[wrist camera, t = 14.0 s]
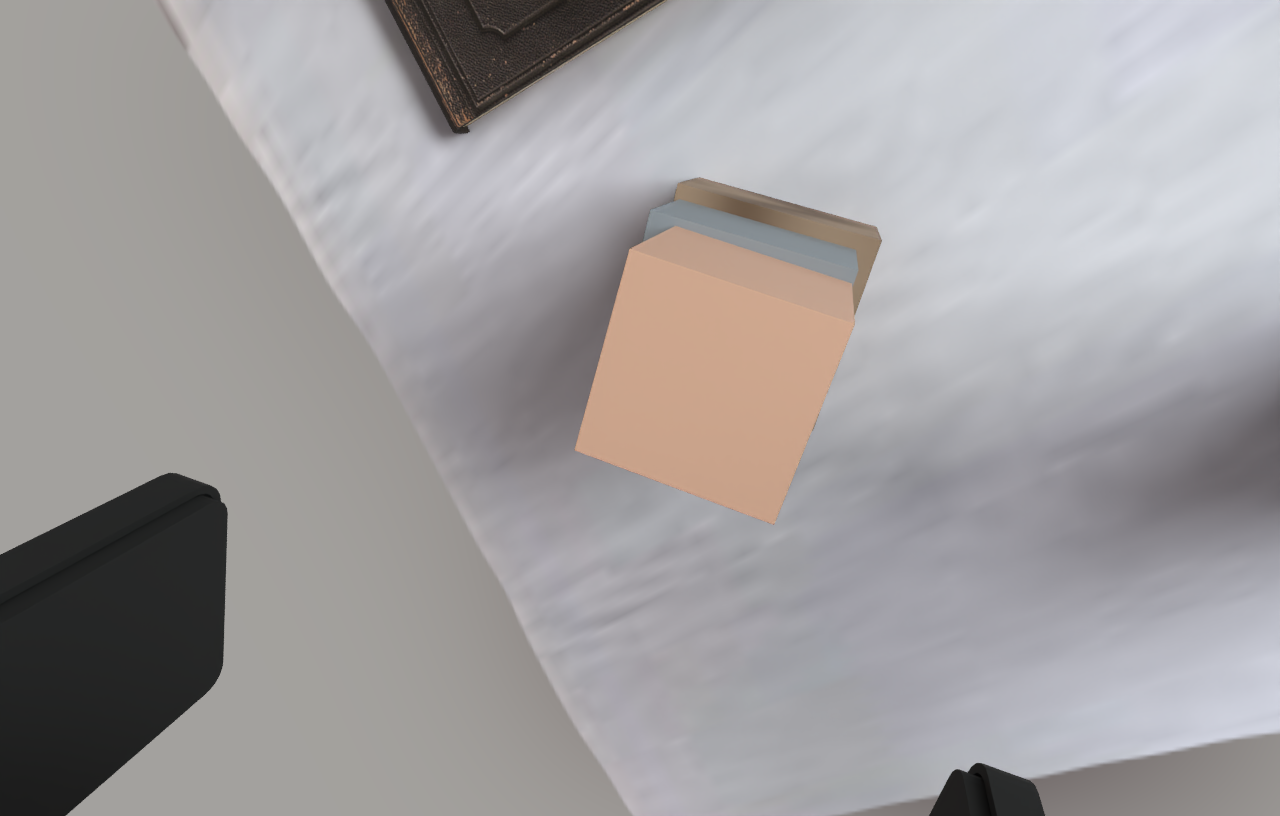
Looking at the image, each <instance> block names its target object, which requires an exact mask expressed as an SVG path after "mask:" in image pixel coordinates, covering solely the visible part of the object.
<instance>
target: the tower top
mask: <svg viewBox="0 0 1280 816" xmlns="http://www.w3.org/2000/svg"><path fill="white" fill-rule="evenodd" d="M674 226H678V227H681V228H684V229H687V230H690V231H693V232H696V233H699V234H702V235H705V236H708V237H711V238H714V239H717V240H720V241H723V242H727V243H730V244H733V245H736V246H739V247H742V248H745V249H748V250H751V251H754V252H757V253H760V254H763V255H766V256H769V257H772V258H775V259H779V260H782V261H785V262H788V263H791V264H794V265H797V266H800V267H803V268H806V269H809V270H812V271H815V272H818V273H821V274H824V275H827V276H830V277H834V278H837V279H840V280H843V281H846V282H849V283H852V287H853V284H854V282H855V279H856V276H857V273H858V262H857V254H856V250H855V249H851V248H848V247H845V246H841V245H838V244H834V243H831V242H827V241H824V240H820V239H817V238H813V237H810V236H806V235H803V234H799V233H796V232H792V231H789V230H785V229H782V228H778V227H775V226H771V225H768V224H764V223H761V222H757V221H754V220H751V219H747V218H744V217H740V216H737V215H733V214H730V213H726V212H723V211H719V210H716V209H712V208H709V207H705V206H702V205H698V204H695V203H691V202H688V201H684V200H681V199H679V200H676V201H673V202H671V203H668V204H665V205H662V206H660V207H657V208H654V209H651V210H650V214H649V218H648V222H647V226H646V230H645V234H644V238H643V242H644V241H646V240H648V239H650V238H652V237H654V236H656V235H658V234H660V233H662V232H664V231H666V230H668V229H670V228H672V227H674Z"/></svg>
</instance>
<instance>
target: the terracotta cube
mask: <svg viewBox="0 0 1280 816" xmlns="http://www.w3.org/2000/svg"><path fill="white" fill-rule="evenodd" d="M854 325H855V319H854V305H853V292H852V283H849V282H846V281H843V280H840V279H837V278H834V277H830V276H827V275H824V274H821V273H818V272H815V271H812V270H809V269H806V268H803V267H800V266H797V265H794V264H791V263H788V262H785V261H782V260H779V259H775V258H772V257H769V256H766V255H763V254H760V253H757V252H754V251H751V250H748V249H745V248H742V247H739V246H736V245H733V244H730V243H727V242H723V241H720V240H717V239H714V238H711V237H708V236H705V235H702V234H699V233H696V232H693V231H690V230H687V229H684V228H681V227H678V226H674V227H672V228H670V229H668V230H666V231H664V232H662V233H660V234H658V235H656V236H654V237H652V238H650V239H648V240H646V241H644V242H642V243H640V244H638V245H636V246H634V247H632V248H630V249H629V253H628V257H627V260H626V264H625V268H624V271H623V275H622V279H621V282H620V286H619V289H618V293H617V297H616V300H615V304H614V308H613V311H612V315H611V319H610V322H609V326H608V330H607V333H606V337H605V340H604V344H603V348H602V351H601V355H600V359H599V362H598V366H597V370H596V373H595V377H594V381H593V384H592V388H591V392H590V395H589V399H588V402H587V406H586V410H585V413H584V417H583V421H582V424H581V428H580V432H579V435H578V439H577V443H576V446H575V451H578V452H580V453H583V454H586V455H588V456H591V457H594V458H596V459H599V460H602V461H604V462H607V463H610V464H612V465H615V466H618V467H620V468H623V469H626V470H628V471H631V472H634V473H637V474H639V475H642V476H645V477H647V478H650V479H653V480H655V481H658V482H661V483H663V484H666V485H669V486H671V487H674V488H677V489H679V490H682V491H685V492H687V493H690V494H693V495H695V496H698V497H701V498H703V499H706V500H709V501H712V502H714V503H717V504H720V505H722V506H725V507H728V508H730V509H733V510H736V511H738V512H741V513H744V514H746V515H749V516H752V517H754V518H757V519H760V520H762V521H765V522H768V523H770V524H773V525H774V524H775V521H776V519H777V516H778V514H779V511H780V509H781V506H782V504H783V501H784V499H785V496H786V494H787V491H788V489H789V486H790V484H791V481H792V479H793V476H794V474H795V471H796V469H797V466H798V464H799V461H800V459H801V456H802V454H803V451H804V449H805V447H806V444H807V442H808V439H809V437H810V434H811V432H812V429H813V427H814V424H815V422H816V419H817V417H818V414H819V412H820V409H821V407H822V404H823V402H824V399H825V397H826V394H827V392H828V389H829V387H830V384H831V382H832V379H833V377H834V374H835V372H836V370H837V367H838V365H839V362H840V360H841V357H842V355H843V352H844V350H845V347H846V345H847V342H848V340H849V337H850V335H851V332H852V330H853V327H854Z"/></svg>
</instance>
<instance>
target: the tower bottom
mask: <svg viewBox="0 0 1280 816" xmlns="http://www.w3.org/2000/svg"><path fill="white" fill-rule="evenodd" d="M679 199H681V200H684V201H688V202H691V203H695V204H698V205H702V206H705V207H709V208H712V209H716V210H719V211H723V212H726V213H730V214H733V215H737V216H740V217H744V218H747V219H751V220H754V221H757V222H761V223H764V224H768V225H771V226H775V227H778V228H782V229H785V230H789V231H792V232H796V233H799V234H803V235H806V236H810V237H813V238H817V239H820V240H824V241H827V242H831V243H834V244H838V245H841V246H845V247H848V248H851V249H855V250H856V254H857V262H858V273H857V276H856V279H855V282H854V284H853V287H852V292H853V305H854V316H855V313H856V310H857V308H858V305H859V302H860V299H861V297H862V294H863V291H864V288H865V286H866V283H867V280H868V277H869V274H870V272H871V269H872V266H873V263H874V261H875V258H876V255H877V252H878V250H879V247H880V244H881V241H882V240H881V237H880V235H879V232H878V229H877V227H875V226H871V225H868V224H864V223H861V222H857V221H853V220H850V219H846V218H843V217H839V216H836V215H832V214H828V213H825V212H821V211H818V210H814V209H811V208H807V207H803V206H800V205H796V204H793V203H789V202H786V201H782V200H778V199H775V198H771V197H768V196H764V195H761V194H757V193H753V192H750V191H746V190H743V189H739V188H736V187H732V186H728V185H725V184H721V183H718V182H714V181H711V180H707V179H703V178H700V177H699V178H695V179H692V180H688V181H684V182H680V183H678V185H677V189H676V193H675V197H674V201H676V200H679ZM818 415H819V414H818ZM817 418H818V417H817ZM816 420H817V419H816ZM815 423H816V422H815ZM814 426H815V424H814ZM813 429H814V427H813ZM813 429H812V431H813Z"/></svg>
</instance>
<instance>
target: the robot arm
mask: <svg viewBox="0 0 1280 816" xmlns="http://www.w3.org/2000/svg"><path fill="white" fill-rule="evenodd" d="M227 515H228V514H227V508H226V506H225V504H224V503H222V502H221V498H220V494H219V492H218V490H217V489H216V488H214V487H212V486H210V485H207V484H204V483H202V482H199V481H196V480H193V479H191V478H188V477H185V476H182V475H180V474H177V473H168V474H165V475H162V476H159V477H157V478H155V479H153V480H151V481H149V482H147V483H145V484H143V485H141V486H139V487H137V488H135V489H133V490H131V491H129V492H127V493H125V494H123V495H121V496H119V497H117V498H115V499H113V500H111V501H108V502H106V503H105V504H102V505H100V506H98V507H97V508H95V509H92V510H90V511H88V512H86V513H84V514H82V515H80V516H78V517H76V518H74V519H72V520H70V521H68V522H66V523H64V524H62V525H60V526H58V527H56V528H54V529H52V530H50V531H48V532H46V533H44V534H42V535H40V536H37V537H35V538H33V539H32V540H29V541H27V542H25V543H23V544H21V545H19V546H17V547H15V548H13V549H11V550H9V551H7V552H5V553H3V554H1V555H0V816H66V815H67V814H68V813H69V812H70V811H71V810H73V809H74V808H75V807H76V806H77V805H78V804H79V803H81V802H82V801H83V800H84V799H85V798H86V797H87V796H89V795H90V794H91V793H92V792H93V791H94V790H95V789H97V788H98V787H99V786H100V785H101V784H102V783H104V782H105V781H106V780H107V779H108V778H109V777H111V776H112V775H113V774H114V773H115V772H116V771H117V770H118V769H120V768H121V767H122V766H123V765H124V764H125V763H127V761H129V760H130V759H131V758H132V757H134V756H135V755H136V754H137V753H138V752H139V751H140V750H142V749H143V748H144V747H145V746H146V745H147V744H149V743H150V742H151V741H152V740H153V739H154V738H155V737H156V736H158V735H159V734H160V733H161V732H162V731H163V730H165V729H166V728H167V727H168V726H169V725H170V724H172V723H173V722H174V721H175V720H176V719H177V718H178V717H180V716H181V715H182V714H183V713H184V712H185V711H187V710H188V709H189V708H190V707H191V706H192V705H193V704H194V703H195V702H197V701H198V700H199V699H200V698H201V697H203V696H204V695H205V694H206V693H207V692H208V691H209V690H210V689H211V687H212V686H213V685H214V684H215V682H216V681H217V679H218V677H219V675H220V673H221V669H222V666H223V649H224V615H225V582H226V581H225V580H226V579H225V578H226V548H227ZM929 816H1045V814H1044V811H1043V807H1042V804H1041V800H1040V797H1039V794H1038V791H1037V789H1036V787H1035V785H1034V784H1033V783H1032V782H1031V781H1029V780H1027V779H1024V778H1021V777H1018V776H1015V775H1013V774H1010V773H1007V772H1004V771H1002V770H999V769H996V768H993V767H990V766H988V765H985V764H982V763H976V764H975V765H973V766H972V767H971V769H970V770H969V771H968V773H967V772H964V771H962V770H958V769H956V770H954V771H953V772H952V773H951V775H950V777H949V778H948V780H947V782H946V784H945V786H944V788H943V790H942V792H941V794H940V796H939V798H938V800H937V802H936V804H935V805H934V808H933V809H932V811H931V813H930V815H929Z"/></svg>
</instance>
